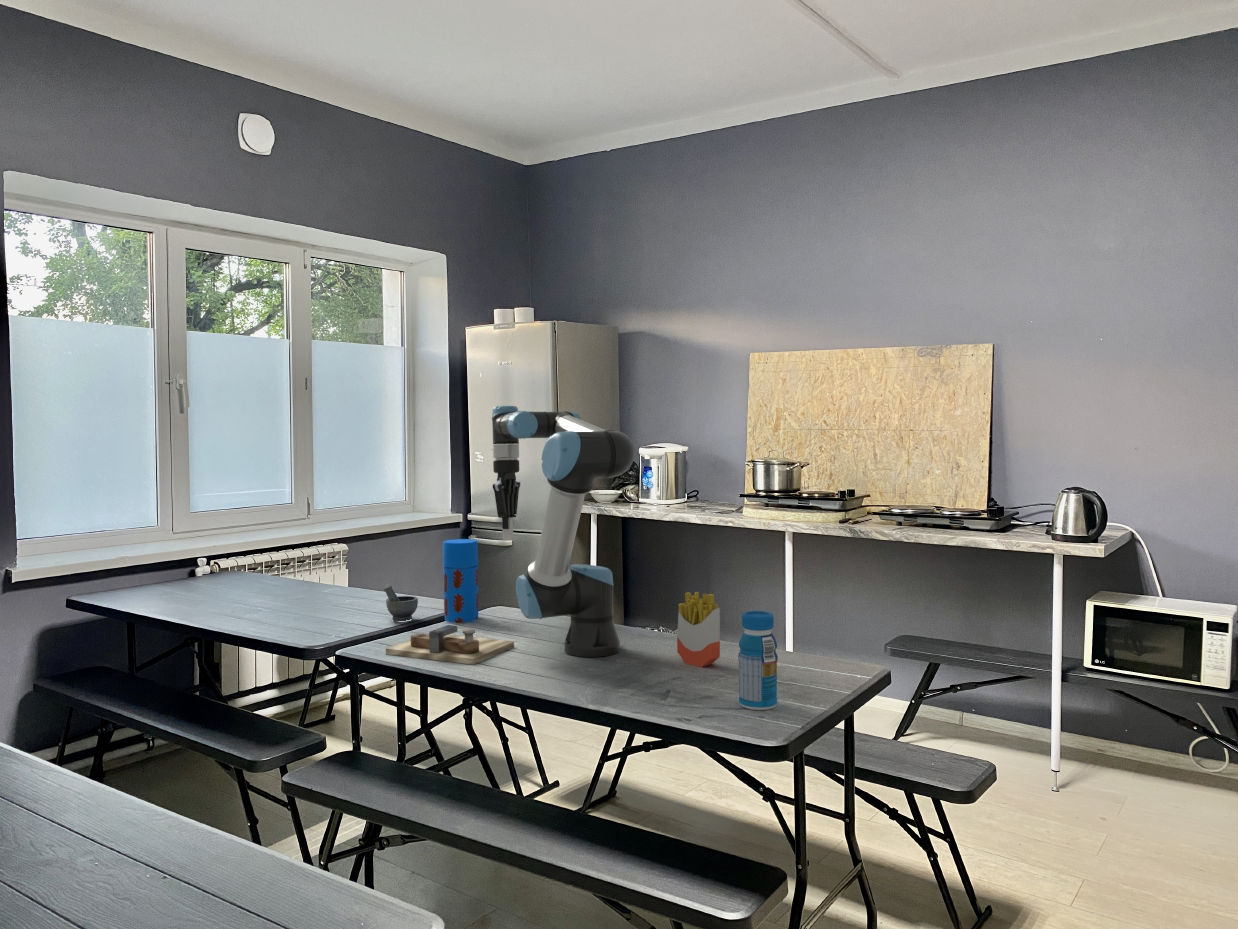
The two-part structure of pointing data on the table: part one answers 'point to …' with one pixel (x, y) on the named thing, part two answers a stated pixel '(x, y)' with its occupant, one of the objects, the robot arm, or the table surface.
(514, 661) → the table surface
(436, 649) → the keeper
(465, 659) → the board
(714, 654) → the french fries container
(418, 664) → the table surface
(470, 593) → the thermos
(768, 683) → the beverage bottle
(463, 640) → the link
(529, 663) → the table surface
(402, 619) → the mortar and pestle
